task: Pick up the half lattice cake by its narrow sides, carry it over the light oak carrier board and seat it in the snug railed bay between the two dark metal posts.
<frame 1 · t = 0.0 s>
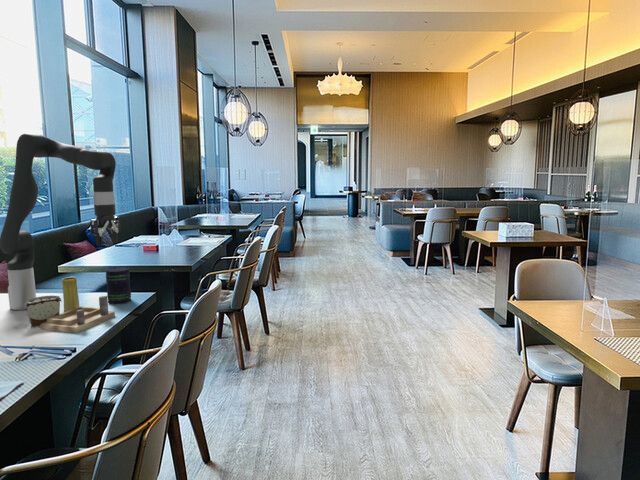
hand: (107, 244, 180), 29 cm above the table, tool pointing down, fingers open, 8 cm apart
vase: (72, 312, 189), on the table
half lattice cake: (43, 323, 174), on the table
storage jar: (119, 301, 204), on the table
carrier board: (79, 322, 175), on the table
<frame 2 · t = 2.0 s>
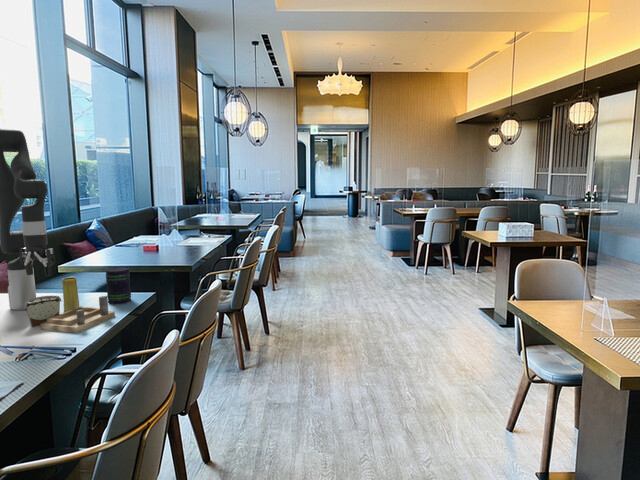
hand: (39, 275, 172), 19 cm above the table, tool pointing down, fingers open, 8 cm apart
nothing on the table moved.
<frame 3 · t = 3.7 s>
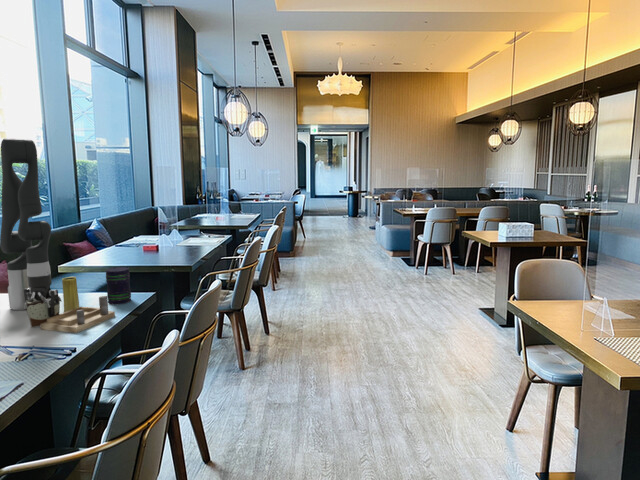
hand: (43, 315, 173), 3 cm above the table, tool pointing down, fingers closed on half lattice cake, 7 cm apart
half lattice cake: (43, 323, 174), on the table, touching gripper
everything else where it was.
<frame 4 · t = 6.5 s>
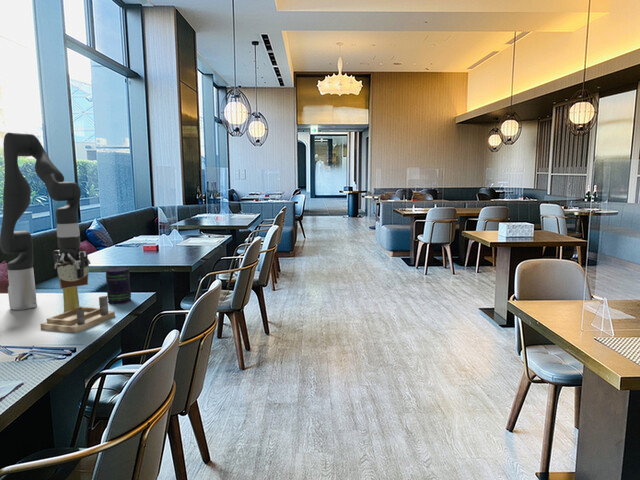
hand: (72, 277, 173), 18 cm above the table, tool pointing down, fingers closed on half lattice cake, 7 cm apart
half lattice cake: (72, 285, 173), point 14 cm above the table, touching gripper
everything else where it was.
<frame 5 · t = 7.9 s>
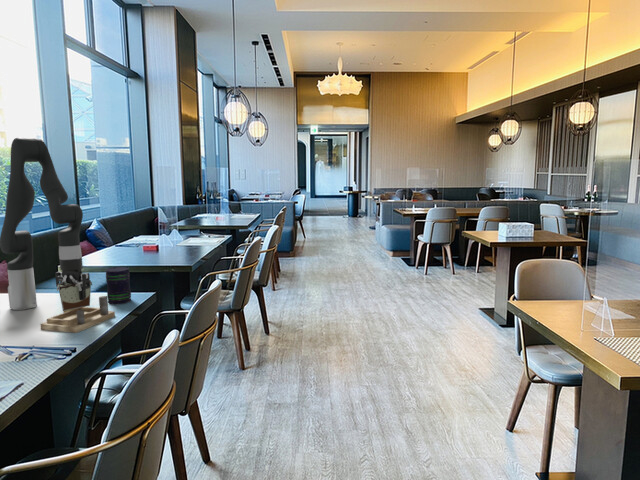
hand: (74, 299, 174), 9 cm above the table, tool pointing down, fingers closed on half lattice cake, 7 cm apart
half lattice cake: (74, 307, 175), point 6 cm above the table, touching gripper
everything else where it was.
when the fingers open (7 cm above the table, at t = 9.1 s): half lattice cake stays where it is, resting on carrier board.
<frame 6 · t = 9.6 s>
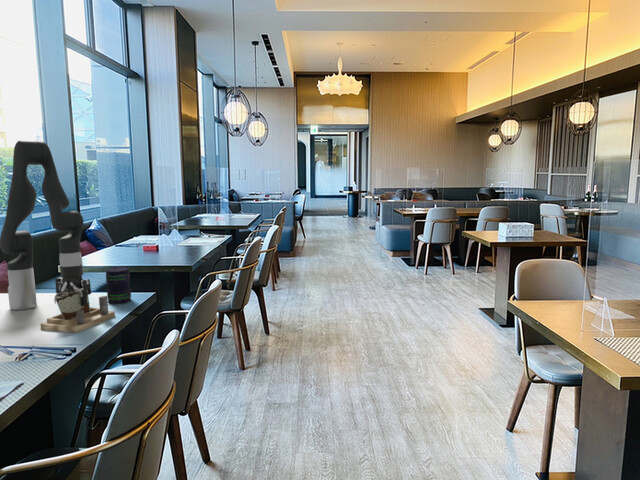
hand: (74, 305, 174), 7 cm above the table, tool pointing down, fingers open, 8 cm apart
half lattice cake: (74, 315, 175), point 3 cm above the table, touching carrier board, gripper
everything else where it was.
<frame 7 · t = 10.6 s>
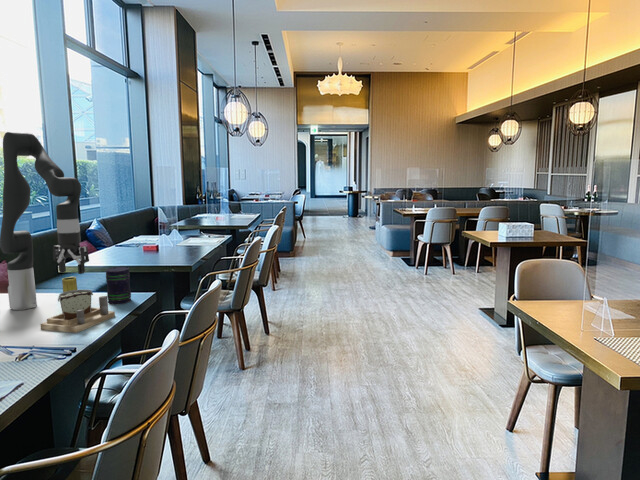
hand: (72, 272, 172), 20 cm above the table, tool pointing down, fingers open, 8 cm apart
half lattice cake: (75, 317, 175), point 2 cm above the table, touching carrier board
everything else where it was.
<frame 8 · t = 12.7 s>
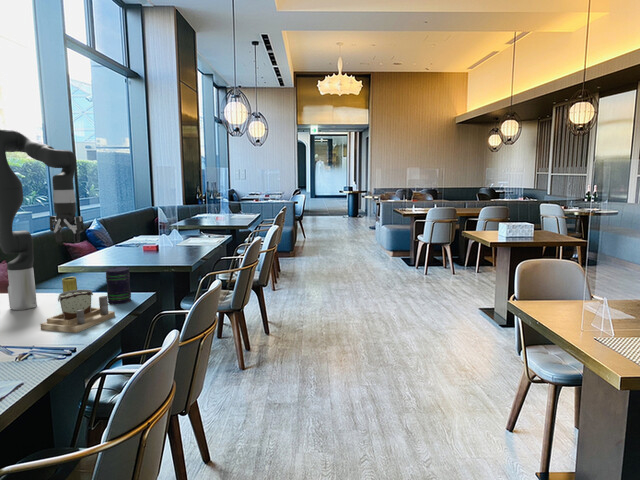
hand: (68, 242, 179), 30 cm above the table, tool pointing down, fingers open, 8 cm apart
nothing on the table moved.
at the end: half lattice cake inside the target area on the carrier board (0.6 cm from its centre), point 1.8 cm above the carrier board's base; half lattice cake tilted 0°; the gripper is holding nothing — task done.
